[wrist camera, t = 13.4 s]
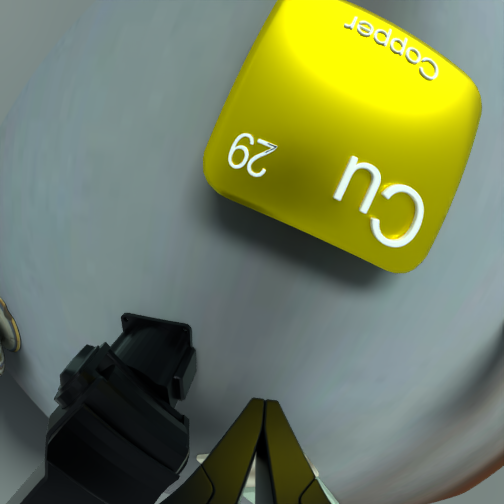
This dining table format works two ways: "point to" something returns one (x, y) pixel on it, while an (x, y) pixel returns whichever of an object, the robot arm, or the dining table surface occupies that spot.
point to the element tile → (346, 131)
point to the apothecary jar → (7, 334)
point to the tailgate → (250, 491)
